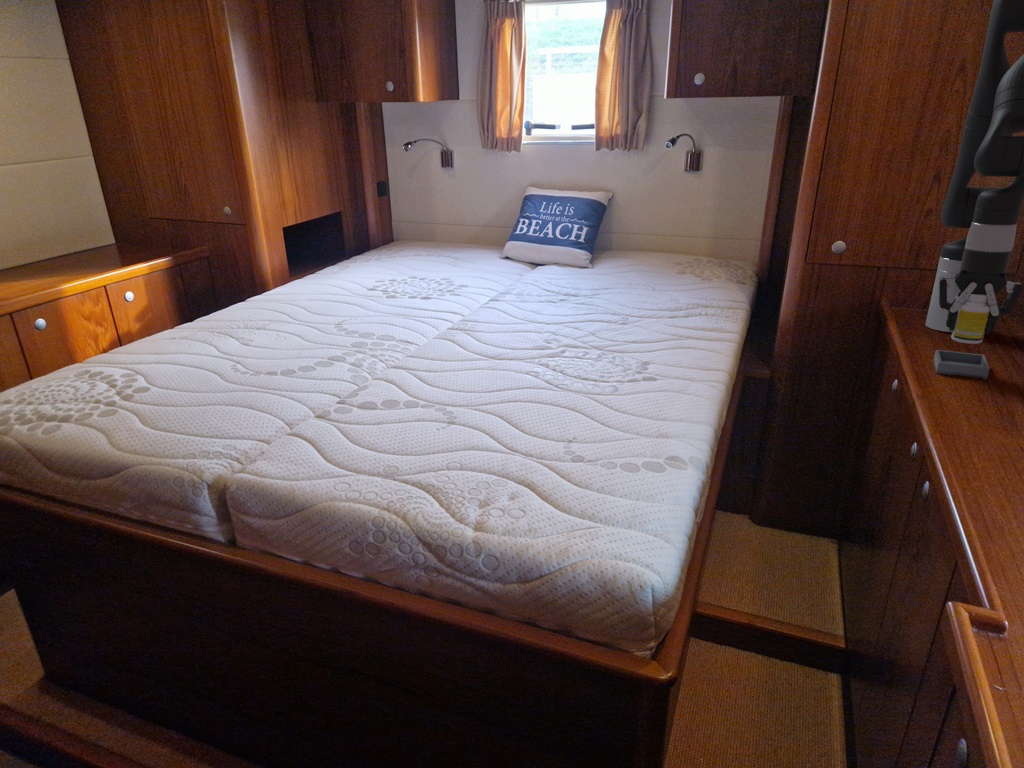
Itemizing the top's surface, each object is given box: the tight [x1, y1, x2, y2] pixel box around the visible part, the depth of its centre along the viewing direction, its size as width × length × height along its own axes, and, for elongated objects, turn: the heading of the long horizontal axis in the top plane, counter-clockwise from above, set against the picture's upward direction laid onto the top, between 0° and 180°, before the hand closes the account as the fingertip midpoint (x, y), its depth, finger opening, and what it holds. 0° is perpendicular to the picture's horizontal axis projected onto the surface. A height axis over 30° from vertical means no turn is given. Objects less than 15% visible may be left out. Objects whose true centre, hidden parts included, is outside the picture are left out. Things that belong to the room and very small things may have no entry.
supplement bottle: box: [950, 294, 990, 345], centre depth 132 cm, size 5×5×10 cm
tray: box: [933, 349, 991, 380], centre depth 136 cm, size 9×9×2 cm
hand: (968, 330), depth 133 cm, fingers closed on supplement bottle, 5 cm apart
